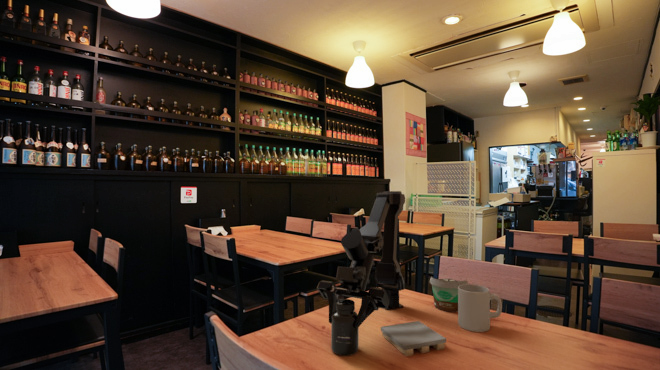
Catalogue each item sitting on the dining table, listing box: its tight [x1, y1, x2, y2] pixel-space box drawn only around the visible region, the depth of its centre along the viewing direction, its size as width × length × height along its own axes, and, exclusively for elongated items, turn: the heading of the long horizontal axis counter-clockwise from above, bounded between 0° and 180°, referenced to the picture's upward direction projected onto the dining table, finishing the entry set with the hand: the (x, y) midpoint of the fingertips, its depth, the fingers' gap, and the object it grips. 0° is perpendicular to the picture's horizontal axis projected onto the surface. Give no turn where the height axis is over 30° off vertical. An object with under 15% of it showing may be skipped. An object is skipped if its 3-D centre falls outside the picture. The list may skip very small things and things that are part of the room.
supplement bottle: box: [330, 298, 360, 357], centre depth 84 cm, size 7×7×12 cm
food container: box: [429, 275, 469, 313], centre depth 110 cm, size 12×6×10 cm, turn 68°
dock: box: [380, 320, 447, 357], centre depth 87 cm, size 12×12×2 cm
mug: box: [457, 283, 503, 333], centre depth 97 cm, size 12×8×11 cm
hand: (342, 325), depth 82 cm, fingers closed on supplement bottle, 7 cm apart
